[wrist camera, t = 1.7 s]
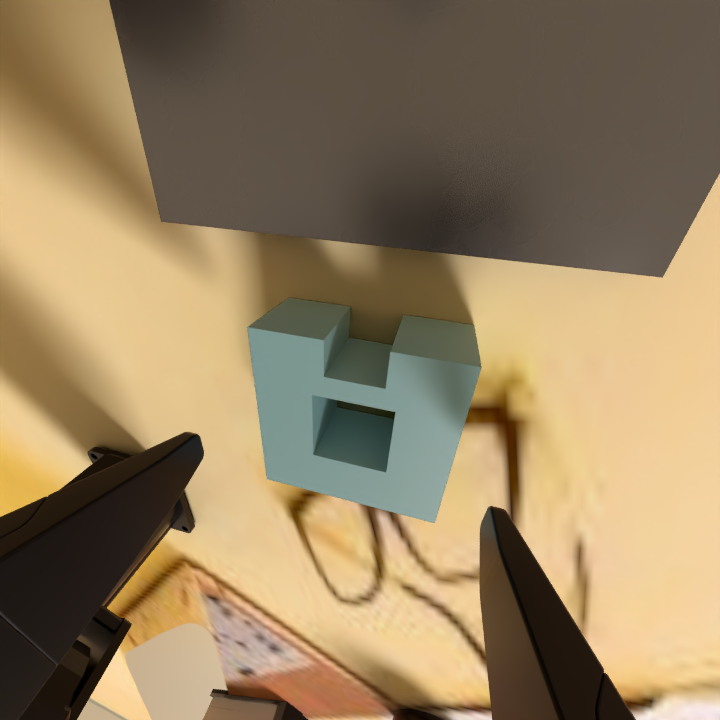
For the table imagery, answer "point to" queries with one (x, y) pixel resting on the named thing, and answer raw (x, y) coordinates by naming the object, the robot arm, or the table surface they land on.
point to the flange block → (363, 387)
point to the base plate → (434, 122)
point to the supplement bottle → (413, 715)
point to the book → (248, 708)
